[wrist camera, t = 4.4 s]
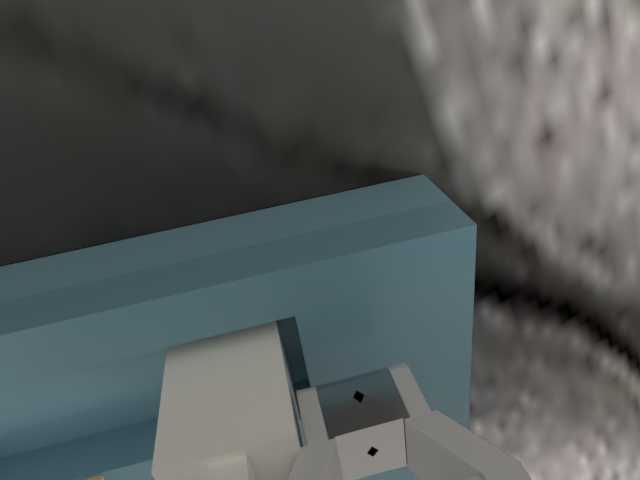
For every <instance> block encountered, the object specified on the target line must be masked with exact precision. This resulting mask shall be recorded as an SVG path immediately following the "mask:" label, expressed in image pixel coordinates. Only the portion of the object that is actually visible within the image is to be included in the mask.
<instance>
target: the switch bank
mask: <svg viewBox="0 0 640 480" xmlns="http://www.w3.org/2000/svg"><path fill="white" fill-rule="evenodd" d="M476 236H477V224H476V223H475V222H474V221H473V220H472V219H470V218H469V217H468V216H467V215H466V214H465V213H464V212H463V211H462V210H461V209H460V208H459V207H458V206H457V205H456V204H455V203H454V202H453V201H451V200H450V199H449V198H448V197H447V196H446V195H445V194H444V193H443V192H442V191H441V190H440V189H439V188H438V187H437V186H436V185H435V184H433V183H432V182H431V181H430V180H429V179H428V178H427V177H426V176H425V175H424V174H422V175H418V176H413V177H408V178H404V179H399V180H395V181H390V182H386V183H381V184H376V185H372V186H367V187H363V188H358V189H354V190H349V191H344V192H340V193H335V194H331V195H326V196H322V197H317V198H312V199H308V200H303V201H299V202H294V203H290V204H285V205H280V206H276V207H271V208H267V209H262V210H258V211H253V212H248V213H244V214H239V215H235V216H230V217H226V218H221V219H216V220H212V221H207V222H203V223H198V224H194V225H189V226H184V227H180V228H175V229H171V230H166V231H162V232H157V233H152V234H148V235H143V236H139V237H134V238H130V239H125V240H120V241H116V242H111V243H107V244H102V245H98V246H93V247H89V248H84V249H79V250H75V251H70V252H66V253H61V254H57V255H52V256H47V257H43V258H38V259H34V260H29V261H25V262H20V263H15V264H11V265H6V266H2V267H0V480H155V479H154V477H153V475H152V474H151V471H152V463H153V455H154V447H155V439H156V432H157V424H158V416H159V408H160V400H161V392H162V384H163V376H164V368H165V360H166V352H167V347H170V346H174V345H178V344H182V343H187V342H191V341H195V340H199V339H203V338H207V337H211V336H215V335H220V334H224V333H228V332H232V331H236V330H240V329H244V328H248V327H252V326H257V325H261V324H265V323H269V322H273V321H278V325H279V329H280V333H281V337H282V341H283V345H284V349H285V353H286V357H287V361H288V365H289V369H290V373H291V378H292V383H293V388H294V393H295V399H296V404H297V409H298V414H299V419H300V425H301V430H302V435H303V440H304V445H305V446H307V445H306V440H305V435H304V430H303V425H302V420H301V415H300V410H299V405H298V400H297V392H296V391H297V390H301V389H306V388H310V387H314V386H315V388H316V386H317V385H321V384H326V383H330V382H334V381H339V380H343V379H347V378H350V377H353V376H357V375H360V374H364V373H368V372H371V371H375V370H378V369H382V368H387V367H391V366H394V365H398V364H402V363H406V364H407V365H408V367H409V369H410V371H411V373H412V375H413V377H414V379H415V381H416V382H417V384H418V386H419V388H420V390H421V392H422V394H423V396H424V398H425V400H426V402H427V404H428V406H429V408H430V410H431V411H435V410H437V411H439V412H441V413H442V414H444V415H445V416H447V417H449V418H450V419H452V420H453V421H455V422H457V423H458V424H460V425H461V426H463V427H465V428H466V429H468V430H469V411H470V386H471V361H472V336H473V311H474V286H475V261H476ZM357 480H422V479H420V478H419V477H418V476H417V475H416V474H415V473H414V472H412V471H411V470H410V469H409V468H408V466H404V467H400V468H396V469H392V470H388V471H384V472H381V473H377V474H373V475H370V476H367V477H364V478H360V479H357Z"/></svg>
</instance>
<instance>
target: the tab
mask: <svg viewBox="0 0 640 480" xmlns="http://www.w3.org/2000/svg"><path fill="white" fill-rule="evenodd" d="M303 446H305V445H304V440H303V435H302V430H301V425H300V419H299V414H298V409H297V404H296V399H295V393H294V388H293V383H292V378H291V373H290V369H289V365H288V361H287V357H286V353H285V349H284V345H283V341H282V337H281V333H280V329H279V325H278V321H273V322H269V323H265V324H261V325H257V326H252V327H248V328H244V329H240V330H236V331H232V332H228V333H224V334H220V335H215V336H211V337H207V338H203V339H199V340H195V341H191V342H187V343H182V344H178V345H174V346H170V347H167V352H166V360H165V368H164V376H163V384H162V392H161V400H160V408H159V416H158V424H157V432H156V439H155V447H154V455H153V463H152V471H151V474H152V475H153V477H154V479H155V480H287V479H288V477H289V475H290V472H291V470H292V468H293V465H294V463H295V461H296V458H297V456H298V453H299V451H300V450H301V447H303Z"/></svg>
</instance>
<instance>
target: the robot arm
mask: <svg viewBox="0 0 640 480" xmlns="http://www.w3.org/2000/svg"><path fill="white" fill-rule="evenodd" d="M296 392H297V400H298V405H299V410H300V415H301V420H302V425H303V430H304V435H305V440H306V445H307V446H303V447H301V450H300V451H299V453H298V456H297V458H296V461H295V463H294V465H293V468H292V470H291V472H290V475H289V477H288V479H287V480H357V479H360V478H364V477H367V476H370V475H373V474H377V473H381V472H384V471H388V470H392V469H396V468H400V467H404V466H408V468H409V469H410V470H411V471H412V472H414V473H415V474H416V475H417V476H418V477H419V478H420V479H422V480H531V478H530V477H529V475H528V473H527V472H526V470H525V469H524V467H523V466H522V464H521V462H519V461H518V460H516V459H514V458H513V457H511V456H510V455H508V454H506V453H505V452H503V451H502V450H500V449H498V448H497V447H495V446H494V445H492V444H490V443H489V442H487V441H486V440H484V439H482V438H481V437H479V436H478V435H476V434H474V433H473V432H471V431H469V430H468V429H466V428H465V427H463V426H461V425H460V424H458V423H457V422H455V421H453V420H452V419H450V418H449V417H447V416H445V415H444V414H442V413H441V412H439V411H437V410H435V411H431V410H430V408H429V406H428V404H427V402H426V400H425V398H424V396H423V394H422V392H421V390H420V388H419V386H418V384H417V382H416V381H415V379H414V377H413V375H412V373H411V371H410V369H409V367H408V365H407V364H406V363H402V364H398V365H394V366H391V367H387V368H382V369H378V370H375V371H371V372H368V373H364V374H360V375H357V376H353V377H350V378H347V379H343V380H339V381H334V382H330V383H326V384H321V385H317V386H316V388H315V386H314V387H310V388H306V389H301V390H297V391H296Z"/></svg>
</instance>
